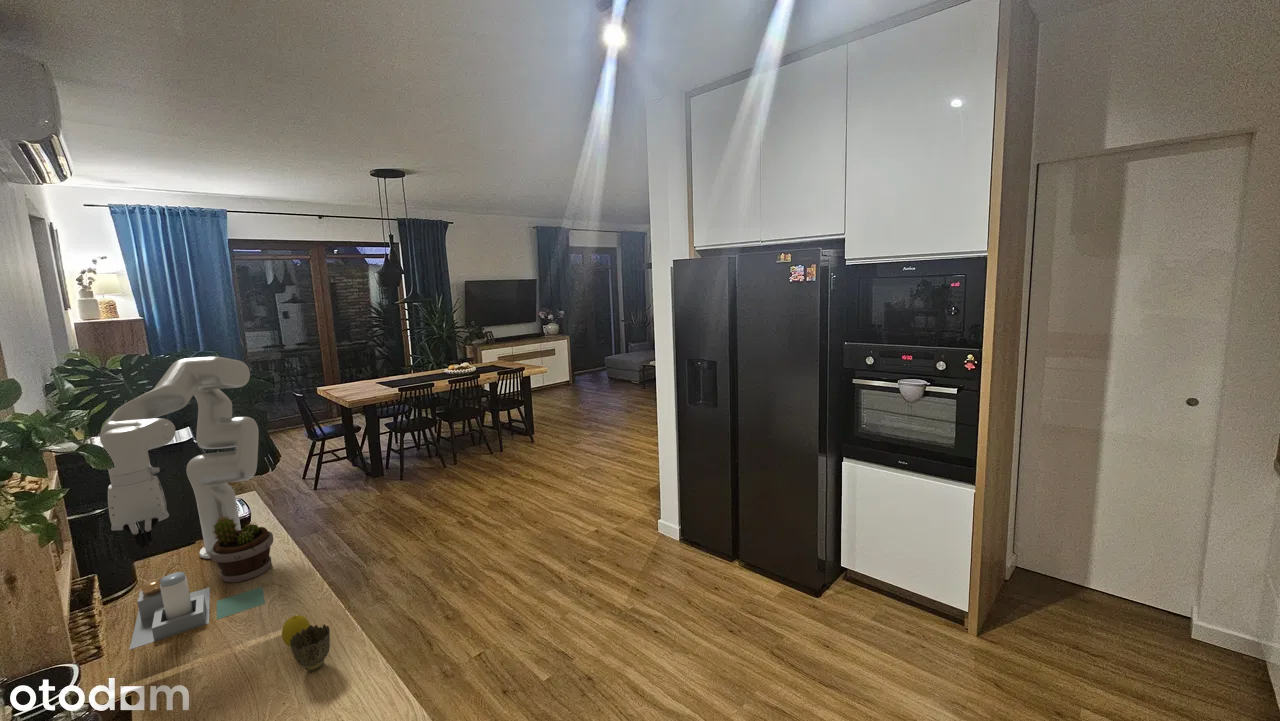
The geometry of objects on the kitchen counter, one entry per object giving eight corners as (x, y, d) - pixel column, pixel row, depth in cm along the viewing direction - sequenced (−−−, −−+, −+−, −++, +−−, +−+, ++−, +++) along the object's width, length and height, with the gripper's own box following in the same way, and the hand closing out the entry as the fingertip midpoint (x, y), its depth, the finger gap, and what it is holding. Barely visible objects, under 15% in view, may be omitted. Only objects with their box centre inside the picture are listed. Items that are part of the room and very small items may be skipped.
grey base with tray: (139, 612, 140) (135, 591, 139) (210, 590, 149) (206, 570, 148) (130, 653, 124) (125, 630, 123) (209, 626, 133) (205, 604, 132)
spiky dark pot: (341, 655, 121) (337, 623, 120) (319, 680, 114) (314, 647, 113) (310, 654, 122) (306, 622, 121) (286, 679, 115) (281, 645, 113)
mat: (217, 604, 142) (216, 600, 142) (263, 589, 148) (262, 586, 148) (217, 623, 134) (216, 619, 134) (265, 606, 140) (265, 603, 140)
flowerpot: (283, 557, 165) (274, 495, 162) (269, 583, 151) (258, 517, 148) (227, 567, 160) (216, 504, 157) (206, 595, 146) (193, 527, 143)
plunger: (146, 605, 139) (142, 582, 138) (169, 598, 142) (164, 576, 141) (145, 613, 136) (140, 590, 135) (167, 606, 138) (163, 583, 137)
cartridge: (168, 620, 134) (159, 576, 132) (194, 612, 137) (186, 569, 135) (167, 630, 130) (158, 585, 128) (193, 622, 133) (185, 577, 131)
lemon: (283, 658, 121) (278, 626, 119) (286, 644, 126) (281, 613, 124) (311, 650, 123) (307, 618, 122) (313, 636, 128) (309, 605, 127)
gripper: (172, 465, 140) (185, 530, 143) (92, 480, 131) (107, 549, 134) (170, 473, 134) (183, 541, 137) (86, 489, 125) (102, 562, 128)
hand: (145, 545), depth 136 cm, fingers closed
